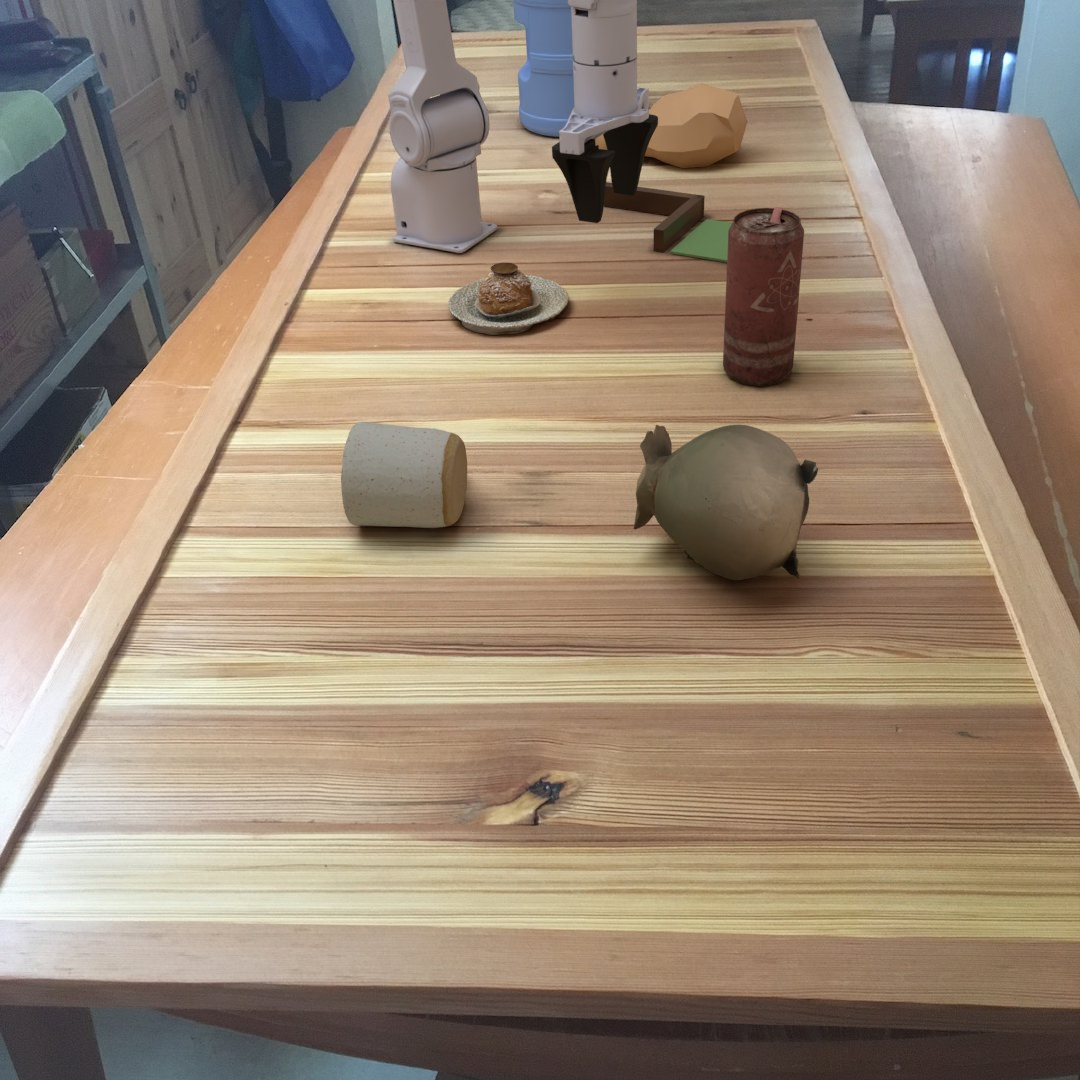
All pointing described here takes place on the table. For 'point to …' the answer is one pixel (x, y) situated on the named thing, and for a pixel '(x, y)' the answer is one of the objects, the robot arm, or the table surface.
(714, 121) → the squash
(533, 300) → the pastry
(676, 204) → the corner guide
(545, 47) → the water jug
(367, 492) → the ceramic mug
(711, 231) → the green rag
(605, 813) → the table surface
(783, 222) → the can
